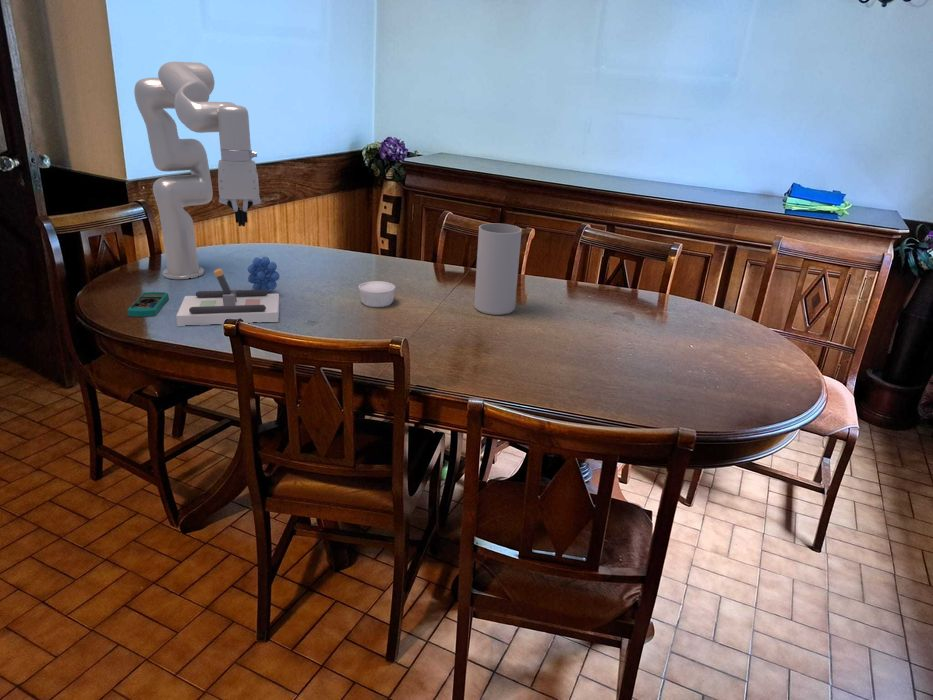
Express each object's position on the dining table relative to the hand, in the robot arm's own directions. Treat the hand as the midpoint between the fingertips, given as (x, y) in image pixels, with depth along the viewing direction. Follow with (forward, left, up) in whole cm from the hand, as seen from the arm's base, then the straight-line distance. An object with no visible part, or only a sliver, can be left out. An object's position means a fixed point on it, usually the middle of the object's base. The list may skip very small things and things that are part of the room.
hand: (242, 225), depth 177 cm
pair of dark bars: (+2, -5, -22) cm, 23 cm away
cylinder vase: (+5, +72, -25) cm, 77 cm away
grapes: (-16, +4, -25) cm, 30 cm away
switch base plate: (+2, -5, -25) cm, 26 cm away
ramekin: (-4, +37, -25) cm, 45 cm away
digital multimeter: (-6, -28, -26) cm, 38 cm away
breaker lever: (+2, -5, -21) cm, 22 cm away
